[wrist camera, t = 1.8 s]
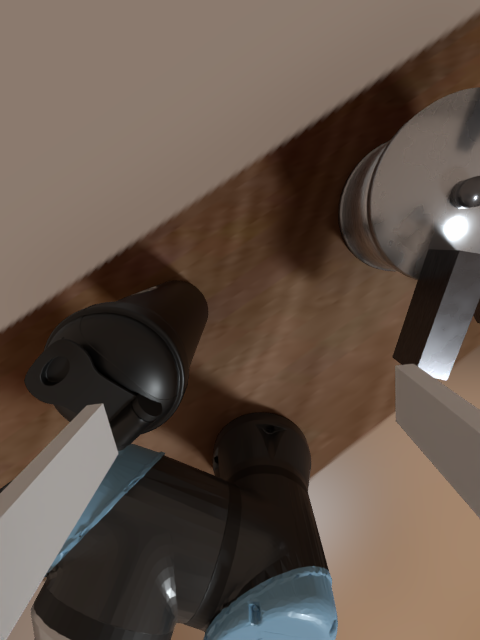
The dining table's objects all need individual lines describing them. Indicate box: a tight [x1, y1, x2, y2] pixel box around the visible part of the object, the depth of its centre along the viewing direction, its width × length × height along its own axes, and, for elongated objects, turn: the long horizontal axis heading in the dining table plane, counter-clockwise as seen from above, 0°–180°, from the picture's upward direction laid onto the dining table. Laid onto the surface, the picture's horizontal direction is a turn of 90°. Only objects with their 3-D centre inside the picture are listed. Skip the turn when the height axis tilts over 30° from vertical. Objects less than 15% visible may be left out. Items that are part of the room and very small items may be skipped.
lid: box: [367, 88, 480, 380], centre depth 24 cm, size 25×16×5 cm, turn 171°
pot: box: [338, 141, 480, 323], centre depth 31 cm, size 23×15×9 cm
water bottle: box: [24, 280, 208, 451], centre depth 28 cm, size 10×10×23 cm
